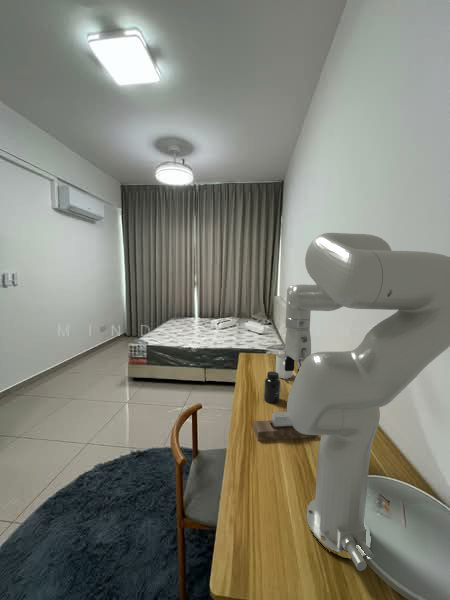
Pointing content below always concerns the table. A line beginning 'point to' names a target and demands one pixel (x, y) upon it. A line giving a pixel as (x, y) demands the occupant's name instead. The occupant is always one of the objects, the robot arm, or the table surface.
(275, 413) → the grey boxy piece
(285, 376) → the mug
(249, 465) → the table surface
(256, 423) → the rail
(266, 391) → the supplement bottle
